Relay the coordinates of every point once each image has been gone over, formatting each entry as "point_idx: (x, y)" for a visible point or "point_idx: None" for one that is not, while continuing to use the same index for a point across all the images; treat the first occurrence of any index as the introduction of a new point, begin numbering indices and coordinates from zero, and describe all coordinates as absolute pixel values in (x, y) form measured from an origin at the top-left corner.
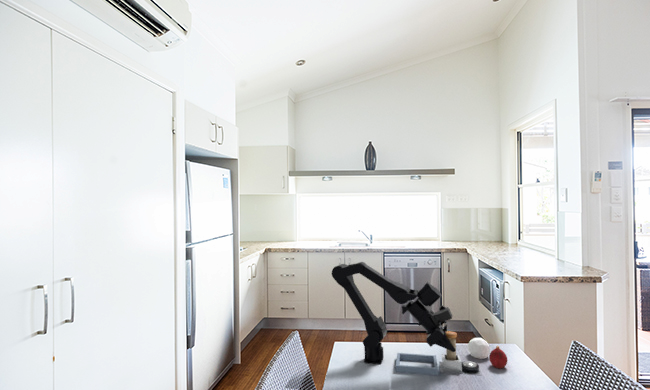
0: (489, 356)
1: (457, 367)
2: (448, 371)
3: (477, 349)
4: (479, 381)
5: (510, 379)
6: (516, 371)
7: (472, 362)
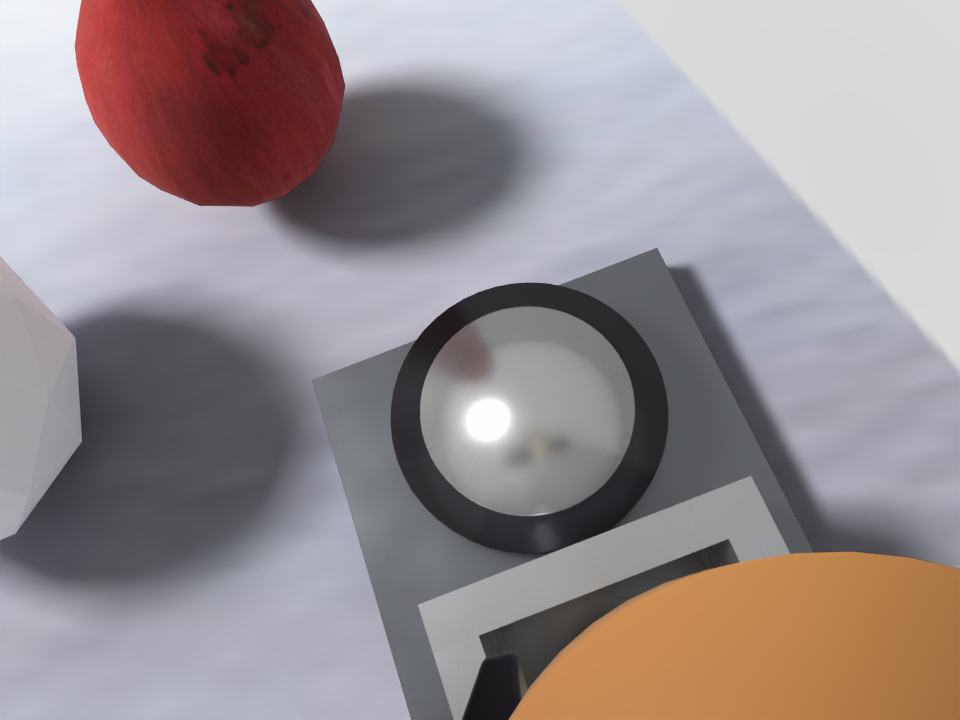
0: (227, 163)
1: None
2: None
3: (7, 371)
4: (757, 267)
5: (492, 29)
6: None
7: (450, 381)
